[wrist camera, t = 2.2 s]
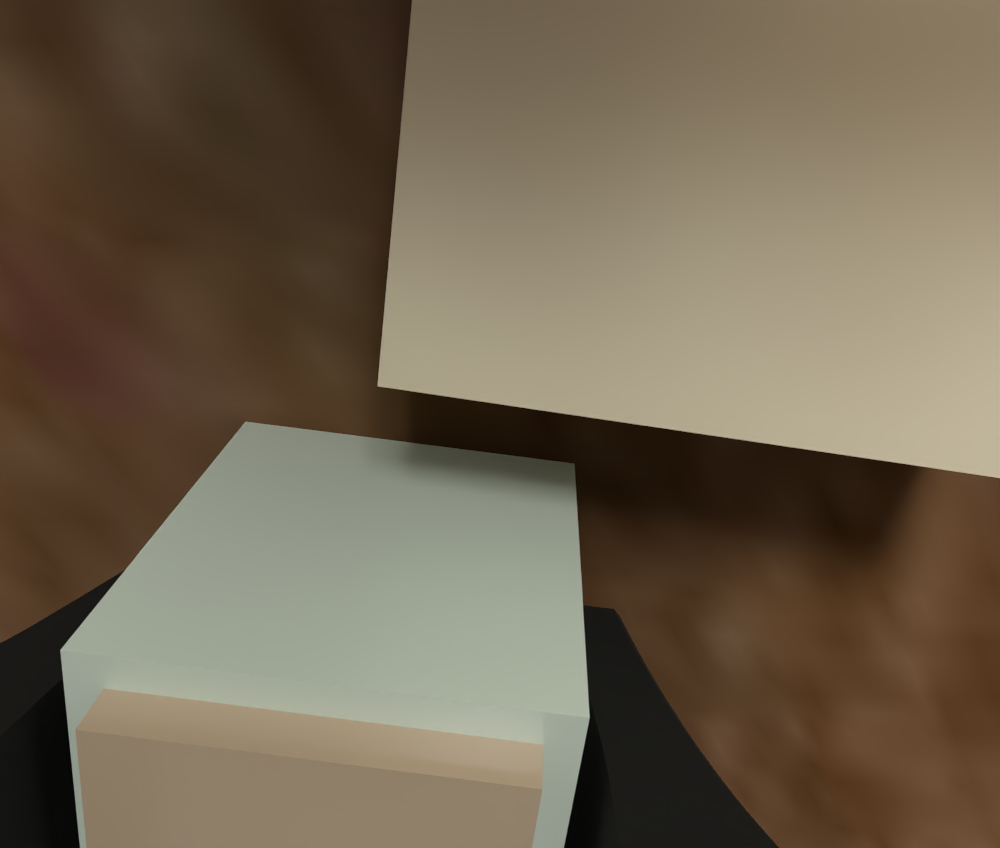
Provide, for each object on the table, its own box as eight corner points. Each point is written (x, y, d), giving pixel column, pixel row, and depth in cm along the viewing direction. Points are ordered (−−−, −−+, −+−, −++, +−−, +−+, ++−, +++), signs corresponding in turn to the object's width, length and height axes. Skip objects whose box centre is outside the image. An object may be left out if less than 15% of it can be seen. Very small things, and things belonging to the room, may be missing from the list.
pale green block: (532, 719, 14) (521, 1108, 9) (245, 683, 14) (71, 1048, 9) (574, 462, 12) (592, 761, 7) (245, 420, 12) (27, 689, 7)
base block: (944, 383, 12) (1067, 487, 9) (417, 305, 12) (377, 385, 9) (1178, -262, 9) (1461, -401, 6) (488, -370, 9) (462, -560, 6)
